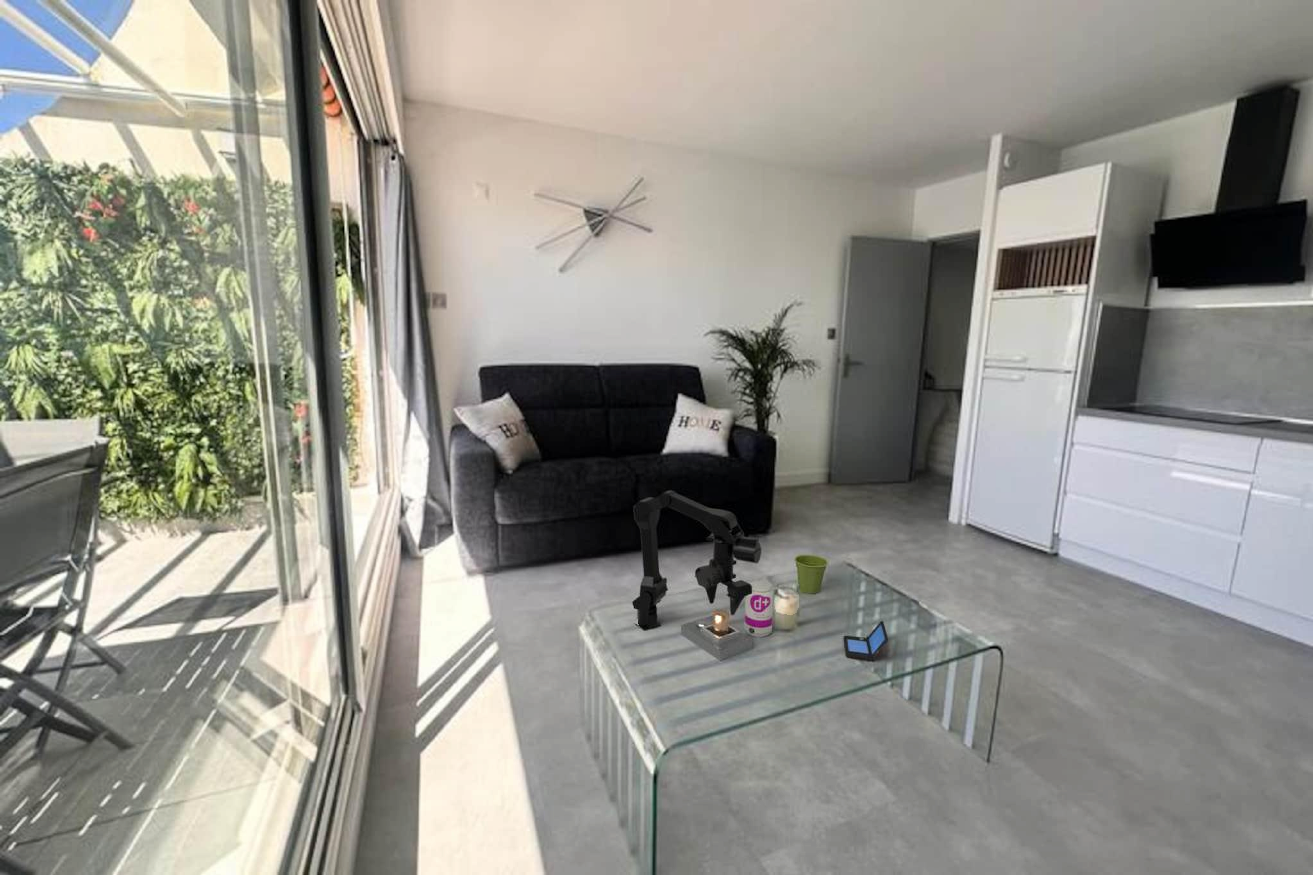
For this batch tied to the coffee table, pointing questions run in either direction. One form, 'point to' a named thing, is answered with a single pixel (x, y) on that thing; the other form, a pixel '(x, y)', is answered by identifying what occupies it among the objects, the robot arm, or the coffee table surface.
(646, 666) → the coffee table surface
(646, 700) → the coffee table surface
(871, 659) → the handheld game console
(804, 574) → the plant pot
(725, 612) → the copper tin
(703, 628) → the grey socket plate
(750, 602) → the supplement can
